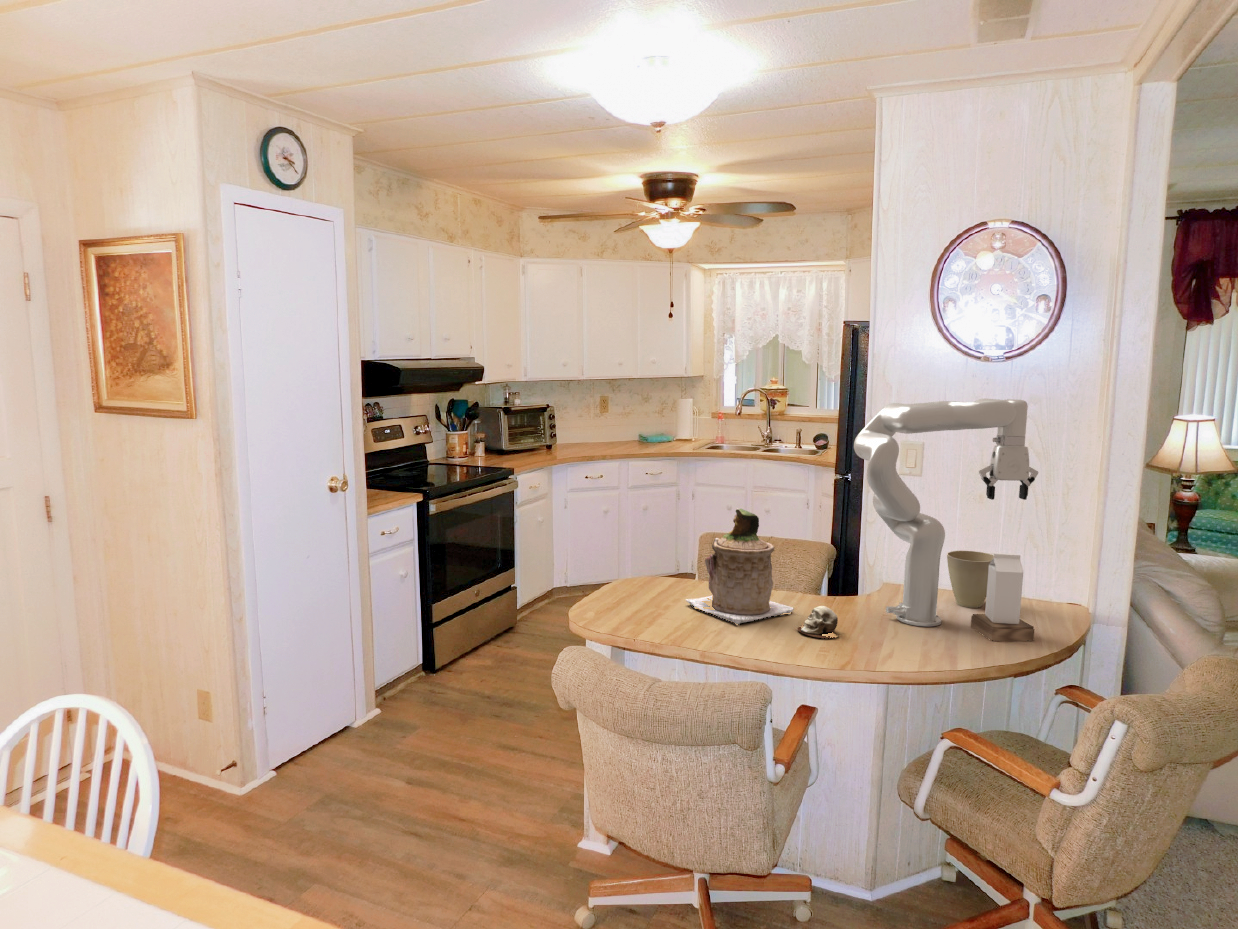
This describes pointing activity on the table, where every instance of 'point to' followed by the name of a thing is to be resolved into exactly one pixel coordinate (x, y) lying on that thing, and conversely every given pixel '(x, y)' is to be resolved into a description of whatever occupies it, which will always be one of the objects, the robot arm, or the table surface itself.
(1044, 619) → the table surface
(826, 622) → the skull
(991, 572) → the milk carton
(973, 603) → the plant pot
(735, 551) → the cookie jar
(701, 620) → the table surface
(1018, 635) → the block
